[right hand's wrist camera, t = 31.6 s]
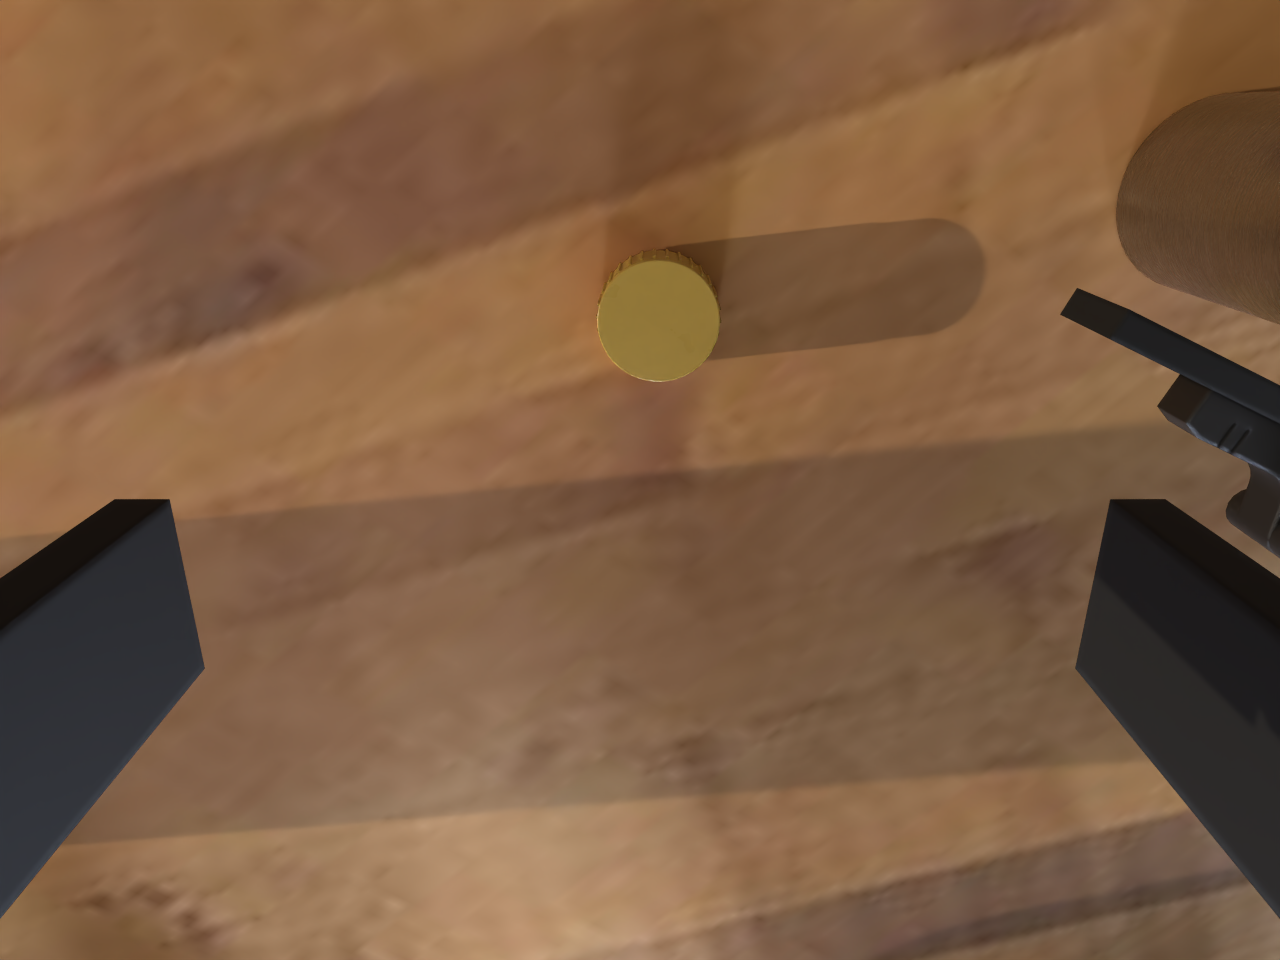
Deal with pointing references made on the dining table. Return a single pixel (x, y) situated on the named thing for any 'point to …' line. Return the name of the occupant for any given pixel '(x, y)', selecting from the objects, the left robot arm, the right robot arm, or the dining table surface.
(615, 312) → the cap
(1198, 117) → the bottle
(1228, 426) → the left robot arm
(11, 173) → the dining table surface
